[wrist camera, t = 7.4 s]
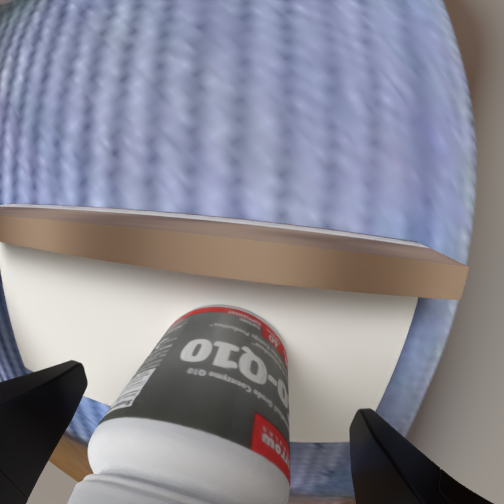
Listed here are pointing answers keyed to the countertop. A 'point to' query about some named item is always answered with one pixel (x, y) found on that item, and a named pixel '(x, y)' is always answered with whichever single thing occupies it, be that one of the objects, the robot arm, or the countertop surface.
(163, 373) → the pill bottle
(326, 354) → the shelf board
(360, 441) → the robot arm
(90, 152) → the countertop surface
